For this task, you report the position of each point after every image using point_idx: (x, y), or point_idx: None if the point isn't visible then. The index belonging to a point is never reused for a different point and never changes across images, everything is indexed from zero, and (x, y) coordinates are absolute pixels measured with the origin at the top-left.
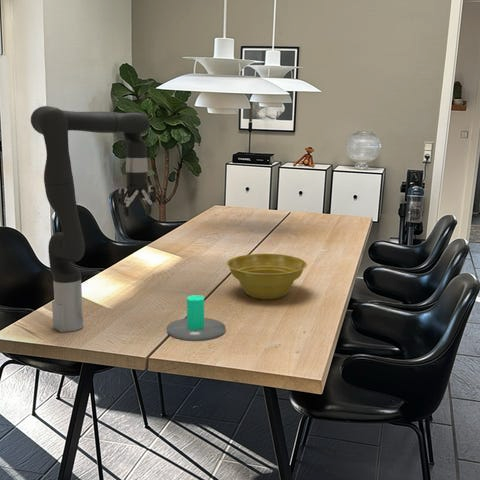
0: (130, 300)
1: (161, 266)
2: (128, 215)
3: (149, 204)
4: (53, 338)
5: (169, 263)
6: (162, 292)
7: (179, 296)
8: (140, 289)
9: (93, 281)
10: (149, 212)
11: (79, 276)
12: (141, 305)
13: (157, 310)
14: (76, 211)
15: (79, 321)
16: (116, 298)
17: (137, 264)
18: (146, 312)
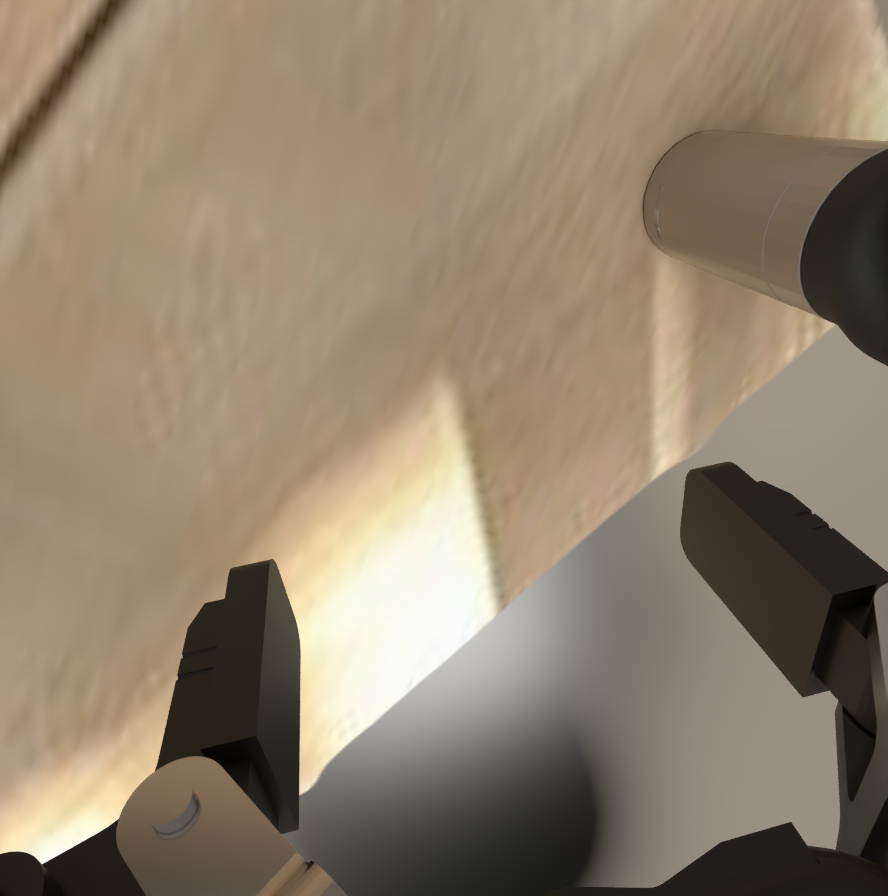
0: (324, 443)
1: (53, 810)
2: (725, 476)
3: (214, 776)
4: (814, 83)
5: (6, 838)
6: (139, 500)
7: (60, 413)
8: None
9: (382, 698)
10: (247, 590)
11: (867, 176)
12: (299, 355)
13: (244, 241)
14: None
15: (702, 142)
16: (373, 490)
17: None
18: (310, 237)
